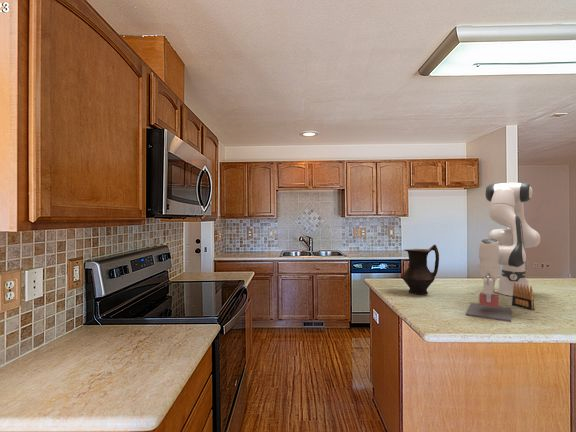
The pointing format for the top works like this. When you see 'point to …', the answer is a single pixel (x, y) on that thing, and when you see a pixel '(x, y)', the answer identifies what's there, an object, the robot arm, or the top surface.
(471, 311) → the mat
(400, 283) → the top surface
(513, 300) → the ammunition clip
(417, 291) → the jug
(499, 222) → the robot arm
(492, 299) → the red rectangular block
